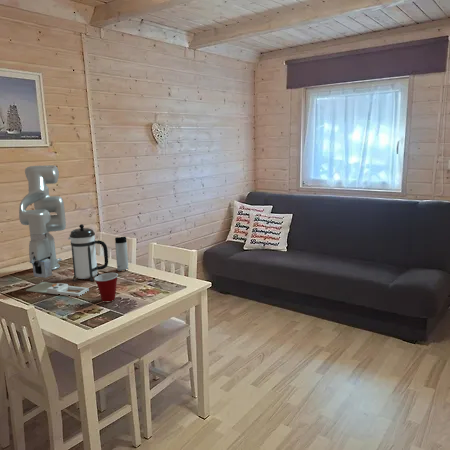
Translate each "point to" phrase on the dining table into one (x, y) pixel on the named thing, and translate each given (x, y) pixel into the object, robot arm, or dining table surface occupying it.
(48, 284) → the sage mat
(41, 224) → the robot arm
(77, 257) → the coffee press
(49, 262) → the medicine box
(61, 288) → the power strip dock
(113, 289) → the plastic cup
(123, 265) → the travel mug
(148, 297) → the dining table surface
